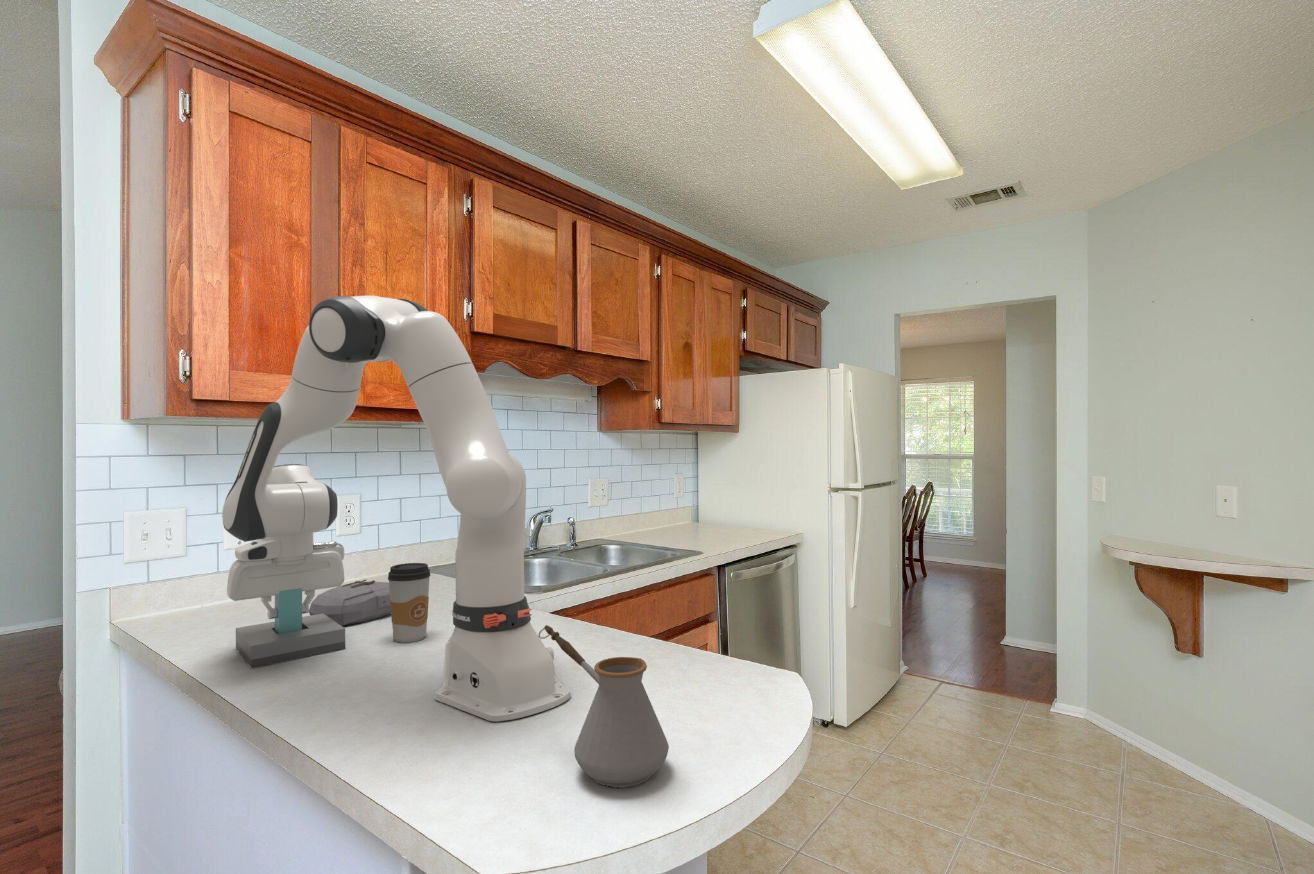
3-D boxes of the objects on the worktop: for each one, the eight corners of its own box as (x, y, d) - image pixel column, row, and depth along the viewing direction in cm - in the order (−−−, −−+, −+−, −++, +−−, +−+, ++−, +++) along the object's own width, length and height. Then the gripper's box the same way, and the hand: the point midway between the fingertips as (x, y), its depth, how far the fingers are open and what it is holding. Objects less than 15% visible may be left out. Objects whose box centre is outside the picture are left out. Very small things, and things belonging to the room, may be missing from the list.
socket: (345, 648, 128) (345, 628, 128) (251, 668, 117) (250, 646, 117) (323, 631, 140) (322, 613, 140) (235, 648, 129) (235, 628, 129)
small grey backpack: (371, 605, 163) (293, 625, 146) (370, 572, 164) (293, 588, 146) (411, 612, 156) (335, 634, 139) (411, 577, 156) (335, 595, 139)
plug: (302, 633, 128) (302, 588, 128) (279, 637, 125) (279, 591, 125) (297, 629, 131) (297, 585, 131) (274, 633, 128) (274, 588, 128)
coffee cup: (402, 647, 128) (402, 571, 128) (380, 639, 133) (379, 567, 133) (439, 636, 135) (438, 565, 135) (416, 630, 140) (415, 561, 140)
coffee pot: (688, 769, 79) (686, 646, 79) (619, 809, 70) (617, 670, 70) (577, 719, 93) (576, 615, 93) (509, 747, 85) (508, 633, 85)
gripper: (339, 538, 138) (339, 603, 137) (225, 549, 124) (225, 622, 124) (348, 542, 133) (348, 609, 133) (231, 553, 119) (231, 628, 119)
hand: (288, 615), depth 128 cm, fingers closed on plug, 4 cm apart
